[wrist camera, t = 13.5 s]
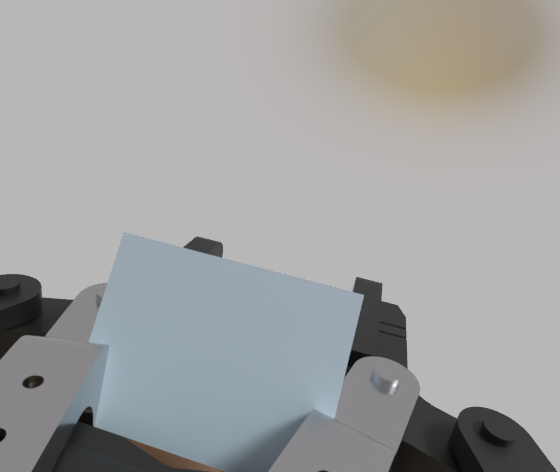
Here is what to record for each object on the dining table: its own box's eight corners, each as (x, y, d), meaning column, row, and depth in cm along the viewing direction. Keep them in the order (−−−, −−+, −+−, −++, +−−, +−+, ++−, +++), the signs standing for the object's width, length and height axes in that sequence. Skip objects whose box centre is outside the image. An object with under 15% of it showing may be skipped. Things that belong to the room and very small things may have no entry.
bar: (314, 501, 6) (364, 294, 7) (64, 416, 7) (123, 232, 7) (333, 349, 34) (342, 310, 34) (282, 334, 34) (291, 296, 35)
